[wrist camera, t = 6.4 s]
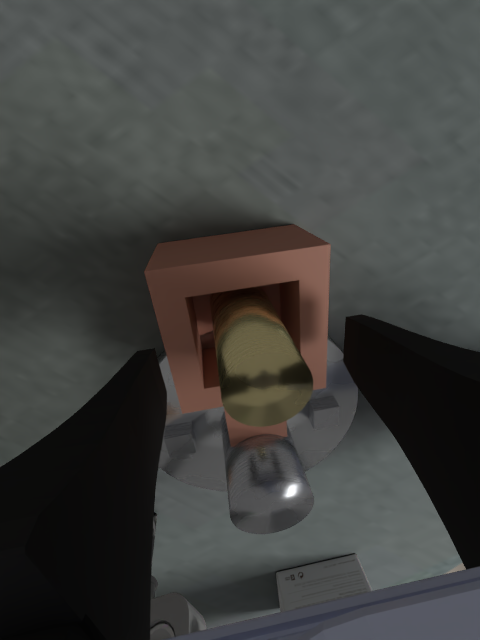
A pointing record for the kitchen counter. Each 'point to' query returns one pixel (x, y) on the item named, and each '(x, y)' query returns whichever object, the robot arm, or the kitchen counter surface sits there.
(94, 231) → the kitchen counter surface
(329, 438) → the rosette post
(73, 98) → the kitchen counter surface
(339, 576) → the supplement box
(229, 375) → the gold capsule
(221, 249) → the bracket
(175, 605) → the mechanical component
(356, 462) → the kitchen counter surface
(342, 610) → the robot arm
